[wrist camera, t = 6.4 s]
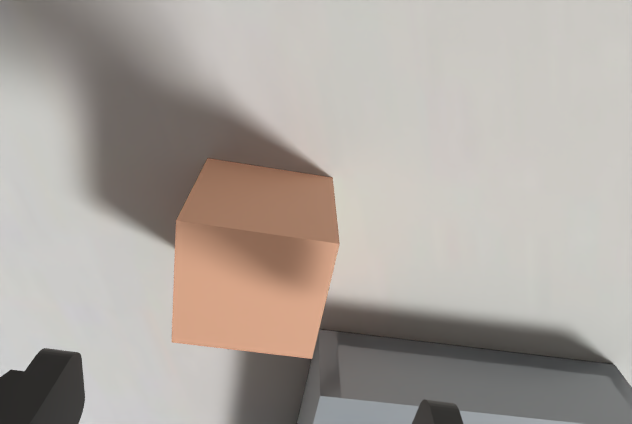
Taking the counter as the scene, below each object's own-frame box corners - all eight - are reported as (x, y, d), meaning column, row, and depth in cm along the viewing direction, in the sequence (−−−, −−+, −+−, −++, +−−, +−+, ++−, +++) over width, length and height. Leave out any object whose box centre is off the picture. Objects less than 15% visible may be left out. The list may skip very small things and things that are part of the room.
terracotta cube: (201, 260, 19) (171, 342, 15) (208, 157, 16) (175, 220, 12) (311, 275, 19) (311, 358, 15) (332, 176, 17) (339, 243, 13)
